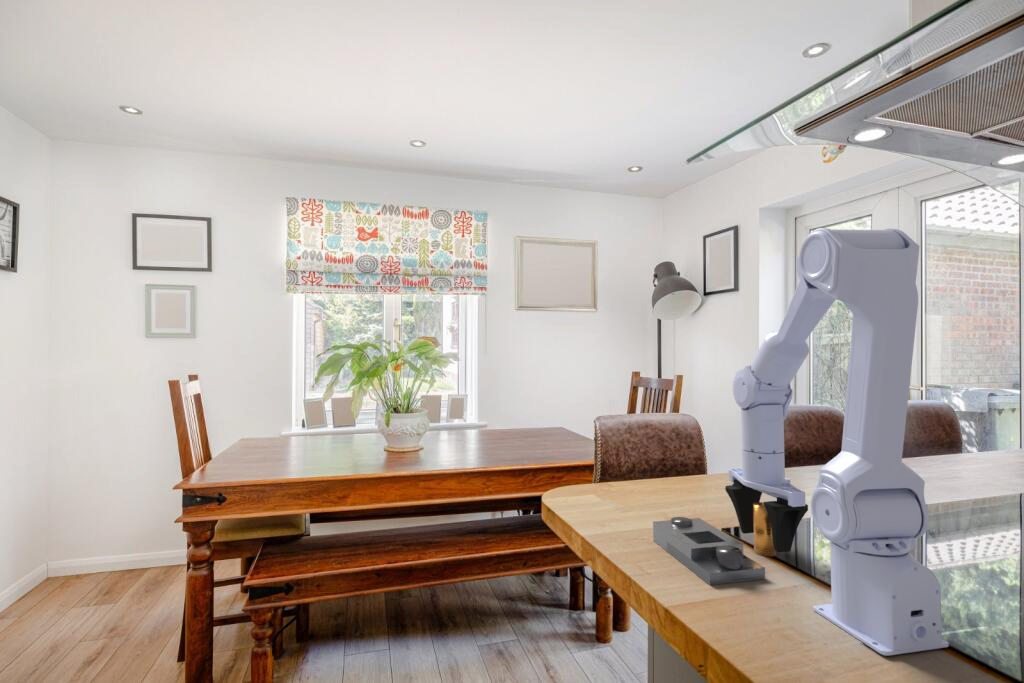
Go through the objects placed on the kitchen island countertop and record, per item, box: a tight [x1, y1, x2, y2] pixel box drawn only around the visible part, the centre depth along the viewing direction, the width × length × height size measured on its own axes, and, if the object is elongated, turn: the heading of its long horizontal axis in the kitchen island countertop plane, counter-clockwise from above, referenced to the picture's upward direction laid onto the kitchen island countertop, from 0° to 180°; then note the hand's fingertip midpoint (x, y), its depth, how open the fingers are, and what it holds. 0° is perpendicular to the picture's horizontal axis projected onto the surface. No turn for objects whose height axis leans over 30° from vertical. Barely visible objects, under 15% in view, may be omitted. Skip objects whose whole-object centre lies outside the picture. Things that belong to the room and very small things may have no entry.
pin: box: [753, 501, 777, 557], centre depth 77 cm, size 3×3×7 cm
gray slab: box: [652, 516, 766, 586], centre depth 75 cm, size 16×8×4 cm, turn 11°
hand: (764, 541), depth 77 cm, fingers open, 7 cm apart
